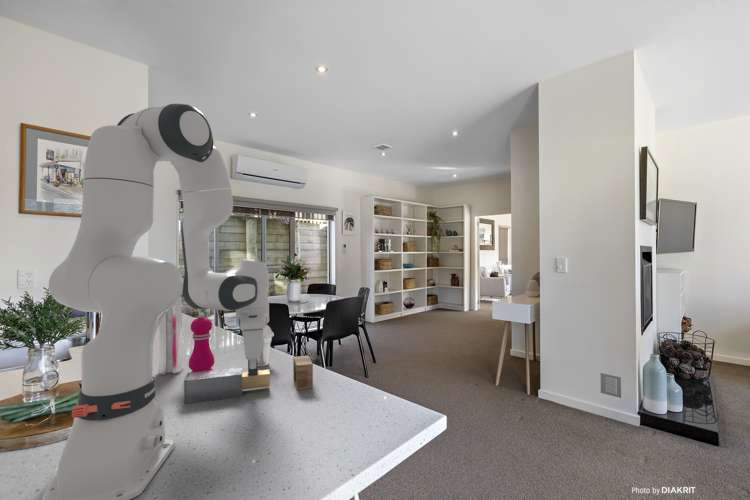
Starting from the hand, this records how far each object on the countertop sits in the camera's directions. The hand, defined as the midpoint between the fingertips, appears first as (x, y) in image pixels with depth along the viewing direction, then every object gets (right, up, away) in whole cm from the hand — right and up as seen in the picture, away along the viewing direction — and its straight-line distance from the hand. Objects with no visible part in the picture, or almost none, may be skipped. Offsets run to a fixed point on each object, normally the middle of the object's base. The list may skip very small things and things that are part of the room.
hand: (252, 365), depth 99 cm
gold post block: (-5, -6, -2) cm, 8 cm away
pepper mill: (-19, -7, +10) cm, 23 cm away
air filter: (-31, -7, +14) cm, 35 cm away
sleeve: (-9, -7, -3) cm, 12 cm away
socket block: (+13, -7, +5) cm, 16 cm away
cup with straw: (-4, -7, +22) cm, 23 cm away
